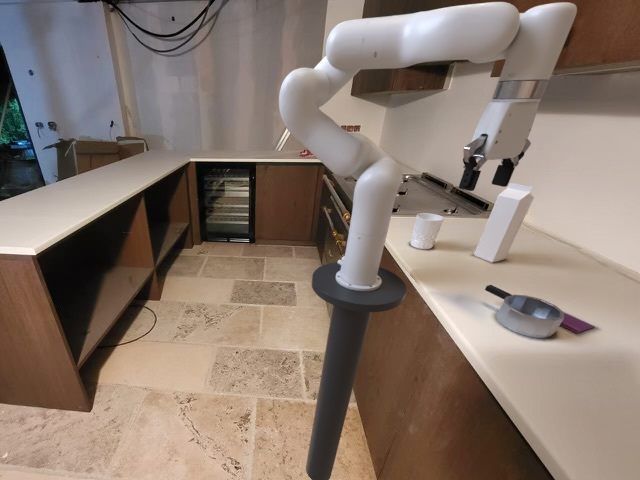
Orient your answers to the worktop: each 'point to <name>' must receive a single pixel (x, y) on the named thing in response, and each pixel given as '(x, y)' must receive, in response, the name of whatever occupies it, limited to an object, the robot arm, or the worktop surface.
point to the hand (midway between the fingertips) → (482, 187)
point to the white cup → (426, 230)
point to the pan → (527, 314)
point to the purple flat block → (574, 324)
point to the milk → (504, 222)
